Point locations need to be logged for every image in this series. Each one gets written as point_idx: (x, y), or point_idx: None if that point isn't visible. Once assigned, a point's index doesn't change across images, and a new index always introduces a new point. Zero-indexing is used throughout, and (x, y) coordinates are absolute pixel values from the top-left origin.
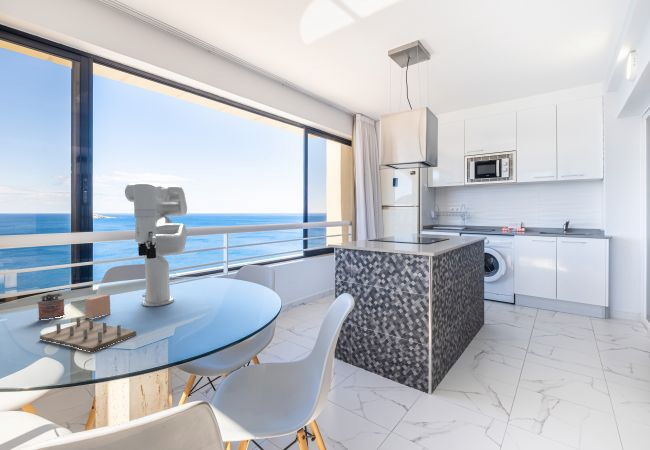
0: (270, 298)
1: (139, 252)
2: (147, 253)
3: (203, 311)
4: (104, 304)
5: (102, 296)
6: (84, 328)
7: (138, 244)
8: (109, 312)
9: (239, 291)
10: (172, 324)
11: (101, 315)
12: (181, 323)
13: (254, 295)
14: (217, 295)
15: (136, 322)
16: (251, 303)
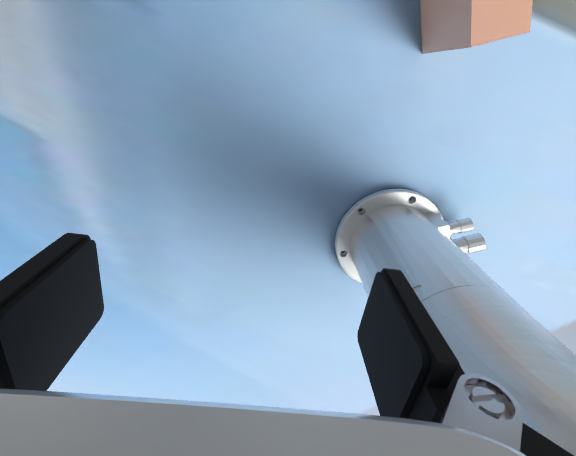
0: None
1: (389, 295)
2: (22, 272)
3: (148, 272)
4: (447, 17)
5: (483, 4)
6: None
7: (500, 403)
8: (426, 48)
9: None
10: (83, 145)
11: (424, 7)
12: (71, 169)
13: None
14: (281, 374)
15: (214, 72)
16: (113, 381)
